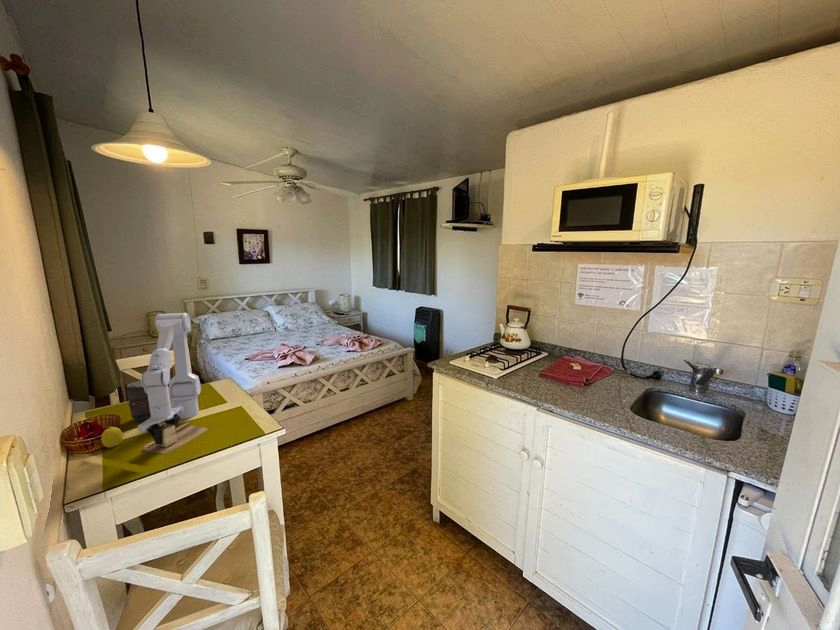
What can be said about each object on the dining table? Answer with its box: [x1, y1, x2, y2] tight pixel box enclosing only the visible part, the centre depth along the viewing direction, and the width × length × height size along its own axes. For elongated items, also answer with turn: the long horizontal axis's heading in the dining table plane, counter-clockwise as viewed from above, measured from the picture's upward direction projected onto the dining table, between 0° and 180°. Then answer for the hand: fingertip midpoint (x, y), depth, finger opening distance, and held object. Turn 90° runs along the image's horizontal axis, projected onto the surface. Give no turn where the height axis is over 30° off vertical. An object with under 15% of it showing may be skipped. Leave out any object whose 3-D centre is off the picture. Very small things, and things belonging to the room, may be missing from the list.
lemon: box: [100, 426, 124, 448], centre depth 119 cm, size 6×6×8 cm
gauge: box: [153, 422, 177, 447], centre depth 119 cm, size 5×4×7 cm
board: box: [142, 422, 210, 455], centre depth 123 cm, size 10×17×3 cm, turn 166°
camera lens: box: [126, 380, 151, 423], centre depth 139 cm, size 8×8×15 cm
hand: (165, 440), depth 120 cm, fingers closed on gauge, 4 cm apart
